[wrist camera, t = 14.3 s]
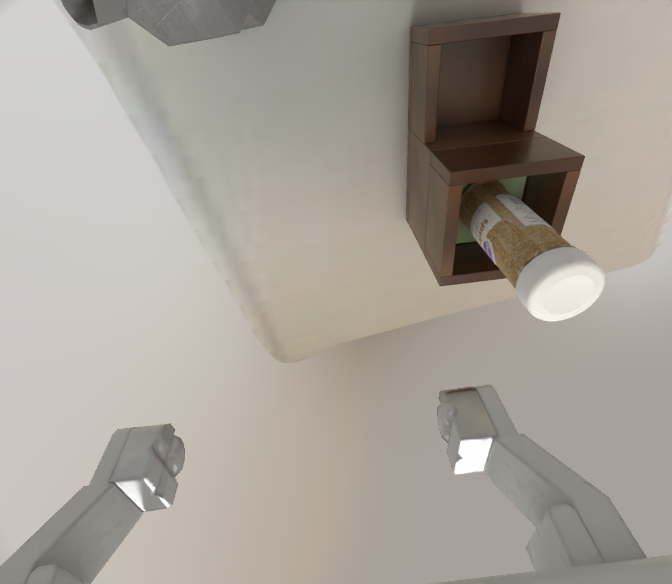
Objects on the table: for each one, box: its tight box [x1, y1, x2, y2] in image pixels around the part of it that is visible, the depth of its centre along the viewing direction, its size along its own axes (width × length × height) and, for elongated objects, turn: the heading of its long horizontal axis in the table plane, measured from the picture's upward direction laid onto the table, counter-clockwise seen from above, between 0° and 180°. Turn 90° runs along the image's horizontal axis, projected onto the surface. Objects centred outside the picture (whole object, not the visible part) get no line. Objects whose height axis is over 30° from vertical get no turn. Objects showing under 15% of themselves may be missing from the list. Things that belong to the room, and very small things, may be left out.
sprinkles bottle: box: [459, 180, 605, 321], centre depth 27 cm, size 5×5×14 cm
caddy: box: [406, 13, 585, 286], centre depth 31 cm, size 18×10×13 cm, turn 6°
